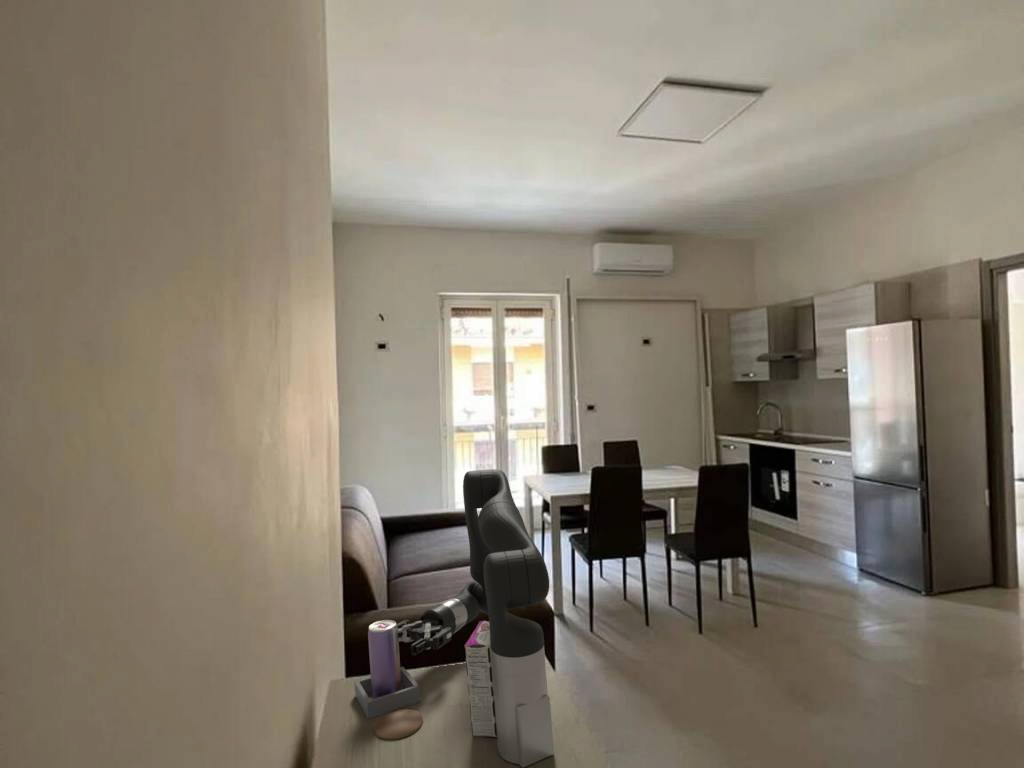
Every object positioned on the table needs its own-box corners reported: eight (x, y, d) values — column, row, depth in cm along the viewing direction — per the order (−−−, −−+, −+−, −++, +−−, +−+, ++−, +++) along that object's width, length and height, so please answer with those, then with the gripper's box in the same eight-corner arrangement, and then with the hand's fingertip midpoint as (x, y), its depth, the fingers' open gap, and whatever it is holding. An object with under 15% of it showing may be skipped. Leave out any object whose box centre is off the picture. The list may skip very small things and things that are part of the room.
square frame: (420, 701, 114) (419, 686, 114) (368, 718, 109) (367, 703, 109) (404, 680, 123) (403, 666, 123) (355, 695, 118) (354, 681, 118)
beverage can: (386, 709, 112) (381, 632, 112) (366, 702, 115) (361, 628, 115) (408, 695, 117) (403, 622, 117) (387, 688, 120) (383, 617, 120)
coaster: (429, 728, 104) (429, 725, 104) (381, 745, 99) (381, 742, 100) (413, 706, 112) (413, 704, 112) (368, 722, 107) (368, 719, 107)
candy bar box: (485, 703, 111) (479, 619, 111) (510, 704, 110) (503, 620, 110) (470, 737, 100) (463, 644, 101) (497, 739, 99) (490, 644, 100)
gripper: (420, 600, 137) (371, 624, 123) (467, 607, 129) (421, 634, 115) (422, 631, 136) (373, 659, 123) (469, 640, 129) (423, 671, 115)
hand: (396, 647), depth 119 cm, fingers open, 8 cm apart
